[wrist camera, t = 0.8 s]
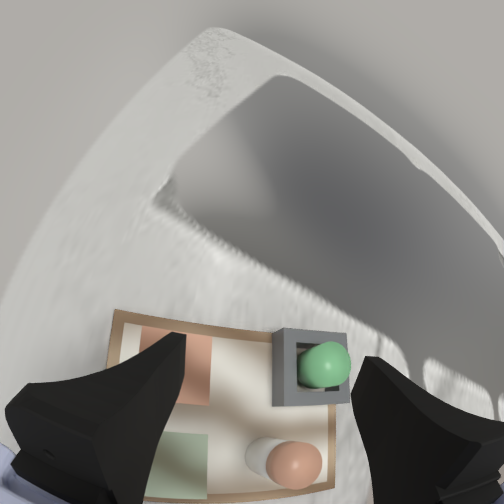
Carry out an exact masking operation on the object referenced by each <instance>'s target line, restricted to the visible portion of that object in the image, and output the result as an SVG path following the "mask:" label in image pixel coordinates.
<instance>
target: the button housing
mask: <svg viewBox="0 0 504 504" xmlns="http://www.w3.org/2000/svg"><path fill="white" fill-rule="evenodd" d="M330 341H332V342H337V343H339V344H341V345H342V346H343V347H344V348H345V349H346V350H347V352H348V349H347V335H346V333H337V332H325V331H313V330H302V329H292V328H282V329H280V330H278V331H276V332H275V333H273V334H272V407H288V406H315V405H331V404H342V403H350V388H349V376H348V378H347V379H346V380H345V381H344V382H343V383H342V384H340V385H337V386H332V387H326V388H325V392H297V354H296V348H302V349H310V348H312V347H315V346H318V345H320V344H323V343H326V342H330Z"/></svg>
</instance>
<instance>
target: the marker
mask: <svg viewBox="0 0 504 504" xmlns="http://www.w3.org/2000/svg"><path fill="white" fill-rule="evenodd" d="M245 462H246V464H247V466H248V468H249V469H250V470H251V471H253V472H255V473H257V474H259V475H261V476H263V477H265V478H267V479H269V480H272V481H273V482H275V483H277V484H279V485H281V486H284V487H286V488H289V489H293V490H298V489H303V488H306V487H308V486H309V485H311V484H312V483H313V482H314V481H315V480H316V479H317V478H318V476H319V474H320V472H321V469H322V456H321V454H320V452H319V450H318V449H317V448H316V447H315V446H313V445H312V444H309V443H305V442H298V441H287V440H281V439H276V438H271V437H262V438H258V439H256V440H254V441H253V442H252V443H251V444H250V445H249V446H248V448H247V450H246V453H245Z"/></svg>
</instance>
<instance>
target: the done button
mask: <svg viewBox="0 0 504 504" xmlns="http://www.w3.org/2000/svg"><path fill="white" fill-rule="evenodd" d="M350 370H351V360H350V356H349V354H348V352H347V350H346V349H345V348H344V347H343V346H342V345H341V344H339V343H337V342H332V341H330V342H326V343H323V344H320V345H318V346H315V347H312V348H310V349H307V350H305V351H303V352H302V353H301V354H300V355H299V356H298V358H297V378H298V380H299V381H300V383H301V384H302V385H303V386H305V387H307V388H309V389H320V388H326V387H332V386H337V385H340V384H342V383H343V382H344V381H345V380H346V379H347V378H348V376H349V374H350Z"/></svg>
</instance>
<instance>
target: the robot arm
mask: <svg viewBox="0 0 504 504" xmlns="http://www.w3.org/2000/svg"><path fill="white" fill-rule="evenodd" d="M186 338H187V334H182V333H177V332H170V333H169V334H167V335H166V336H164V337H163V338H161V339H160V340H158V341H157V342H155V343H154V344H153V345H151V346H150V347H148V348H146V349H145V350H143V351H142V352H140V353H138V354H137V355H135V356H133V357H131V358H129V359H128V360H126V361H124V362H122V363H120V364H118V365H115V366H113V367H111V368H108V369H106V370H103V371H100V372H97V373H93V374H90V375H87V376H83V377H79V378H75V379H70V380H64V381H57V382H46V383H28V384H27V385H26V386H25V387H24V388H23V389H22V390H21V391H20V392H19V393H18V394H17V395H16V396H15V397H14V398H13V399H12V400H11V401H10V402H9V403H8V404H7V406H6V408H5V417H6V420H7V423H8V425H9V427H10V429H11V431H12V433H13V435H14V437H15V439H16V441H17V443H18V445H19V447H20V449H21V450H20V451H19V453H18V454H17V455H15V453H14V452H13V451H12V450H10V449H9V448H8V447H7V446H5V445H3V444H2V443H0V504H142V503H143V499H144V495H145V490H146V486H147V482H148V478H149V474H150V471H151V467H152V463H153V460H154V456H155V453H156V449H157V446H158V443H159V440H160V438H161V435H162V433H163V431H164V428H165V426H166V424H167V421H168V419H169V417H170V415H171V412H172V410H173V408H174V406H175V403H176V401H177V399H178V396H179V393H180V390H181V387H182V383H183V379H184V376H185V356H186ZM351 400H352V407H353V412H354V416H355V419H356V422H357V426H358V429H359V432H360V435H361V438H362V441H363V444H364V447H365V450H366V453H367V457H368V461H369V467H370V473H371V479H372V488H373V498H374V504H504V482H503V483H502V484H501V485H499V483H498V481H497V480H498V479H499V478H500V477H501V475H500V473H499V471H498V470H499V468H500V467H501V466H502V465H503V464H504V422H501V421H495V420H490V419H486V418H483V417H479V416H476V415H473V414H470V413H467V412H465V411H463V410H460V409H458V408H455V407H453V406H451V405H449V404H447V403H445V402H443V401H442V400H440V399H438V398H436V397H434V396H433V395H431V394H430V393H428V392H427V391H425V390H424V389H422V388H421V387H419V386H418V385H416V384H415V383H413V382H412V381H411V380H409V379H408V378H407V377H405V376H404V375H403V374H402V373H400V372H399V371H398V370H396V369H395V368H394V367H392V366H391V365H390V364H388V363H387V362H386V361H384V360H383V359H381V358H379V357H372V356H365V358H364V361H363V364H362V366H361V369H360V372H359V374H358V377H357V379H356V382H355V384H354V387H353V389H352V392H351Z"/></svg>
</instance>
